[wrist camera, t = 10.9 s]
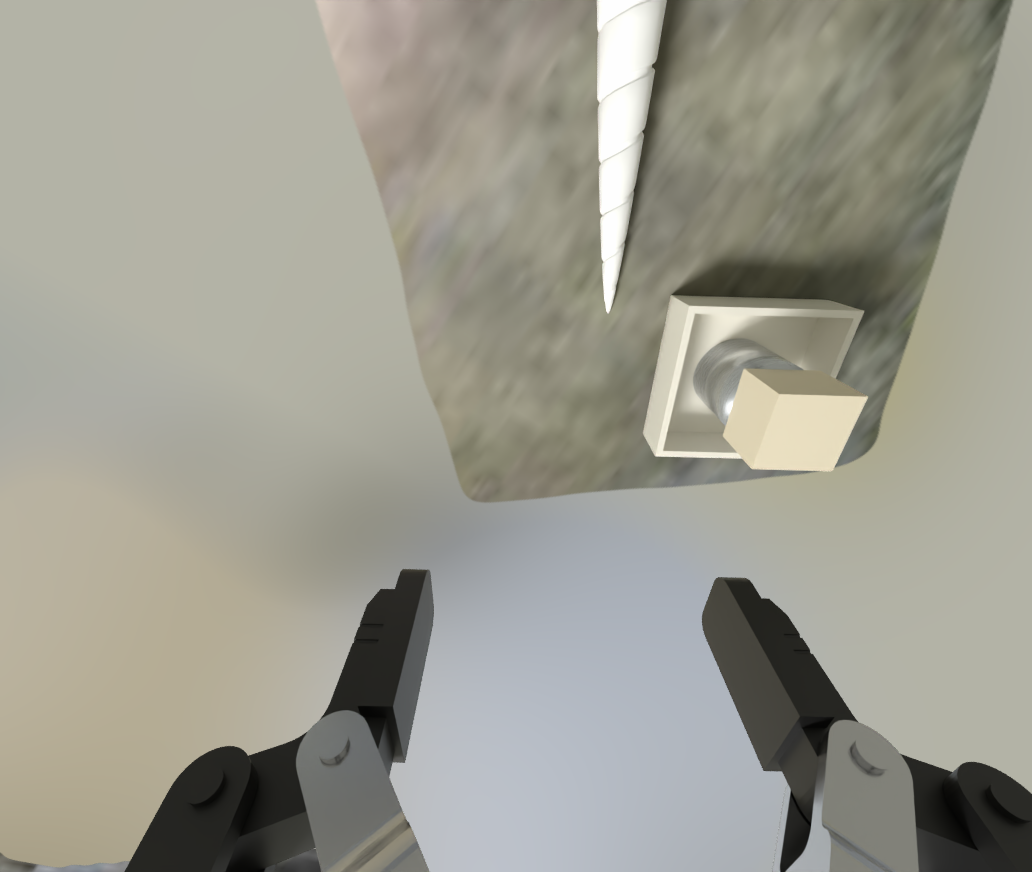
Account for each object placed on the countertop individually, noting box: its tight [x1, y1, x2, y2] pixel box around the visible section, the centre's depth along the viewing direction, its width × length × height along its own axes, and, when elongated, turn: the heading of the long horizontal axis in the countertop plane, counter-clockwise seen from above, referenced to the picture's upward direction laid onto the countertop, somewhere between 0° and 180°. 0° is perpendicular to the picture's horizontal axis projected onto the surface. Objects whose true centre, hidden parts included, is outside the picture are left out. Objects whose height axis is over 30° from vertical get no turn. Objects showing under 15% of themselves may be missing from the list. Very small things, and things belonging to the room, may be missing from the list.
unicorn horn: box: [597, 0, 667, 313], centre depth 30 cm, size 5×24×5 cm, turn 179°
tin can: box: [693, 338, 803, 426], centre depth 37 cm, size 7×7×7 cm
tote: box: [643, 295, 864, 458], centre depth 38 cm, size 14×14×4 cm
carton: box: [723, 368, 868, 471], centre depth 31 cm, size 6×6×5 cm
